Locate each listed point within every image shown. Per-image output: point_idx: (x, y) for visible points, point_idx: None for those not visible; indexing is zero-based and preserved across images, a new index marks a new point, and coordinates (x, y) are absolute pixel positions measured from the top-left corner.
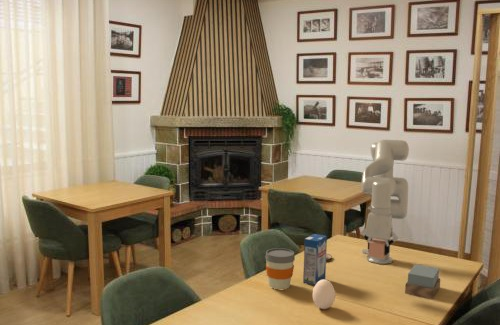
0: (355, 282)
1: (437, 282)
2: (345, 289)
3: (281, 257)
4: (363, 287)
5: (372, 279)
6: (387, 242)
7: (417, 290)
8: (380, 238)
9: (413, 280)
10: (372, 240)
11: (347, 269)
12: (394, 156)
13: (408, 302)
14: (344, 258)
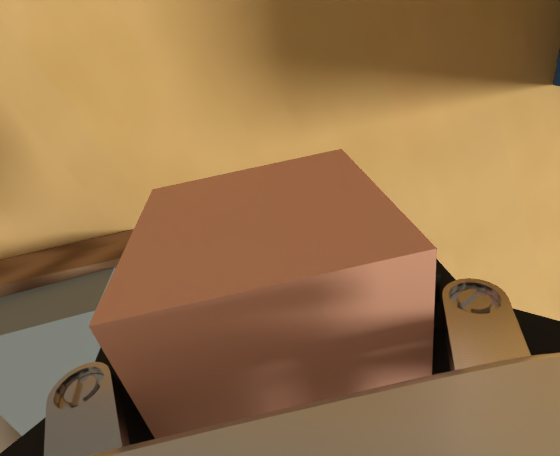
0: (393, 169)
1: None
2: (400, 27)
3: None
4: (330, 139)
5: None
6: (63, 435)
7: (60, 259)
8: (165, 448)
9: (74, 292)
10: (415, 364)
11: (483, 276)
12: None
13: (31, 132)
14: None
